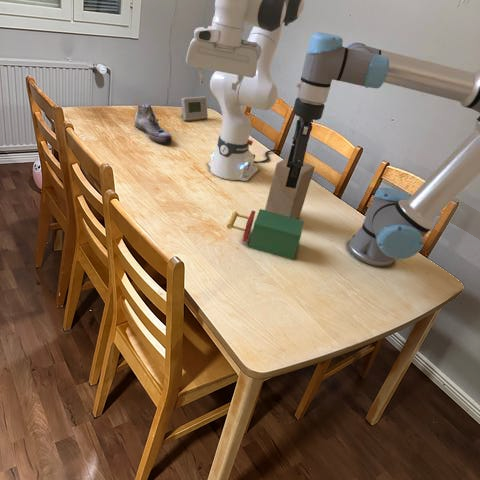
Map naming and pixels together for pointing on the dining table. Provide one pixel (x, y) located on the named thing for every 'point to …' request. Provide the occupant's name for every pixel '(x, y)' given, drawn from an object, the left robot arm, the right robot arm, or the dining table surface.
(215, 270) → the dining table surface
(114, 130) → the dining table surface
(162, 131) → the shoe
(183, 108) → the digital clock
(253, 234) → the cabinet
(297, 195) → the wooden block
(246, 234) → the drawer
